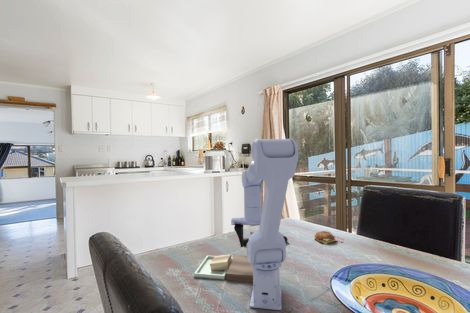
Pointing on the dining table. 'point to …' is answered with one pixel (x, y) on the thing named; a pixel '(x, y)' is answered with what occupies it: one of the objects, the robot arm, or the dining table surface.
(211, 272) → the green tray
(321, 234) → the hamburger
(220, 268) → the oak tile
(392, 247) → the dining table surface
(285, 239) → the black toy gun
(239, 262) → the walnut board
